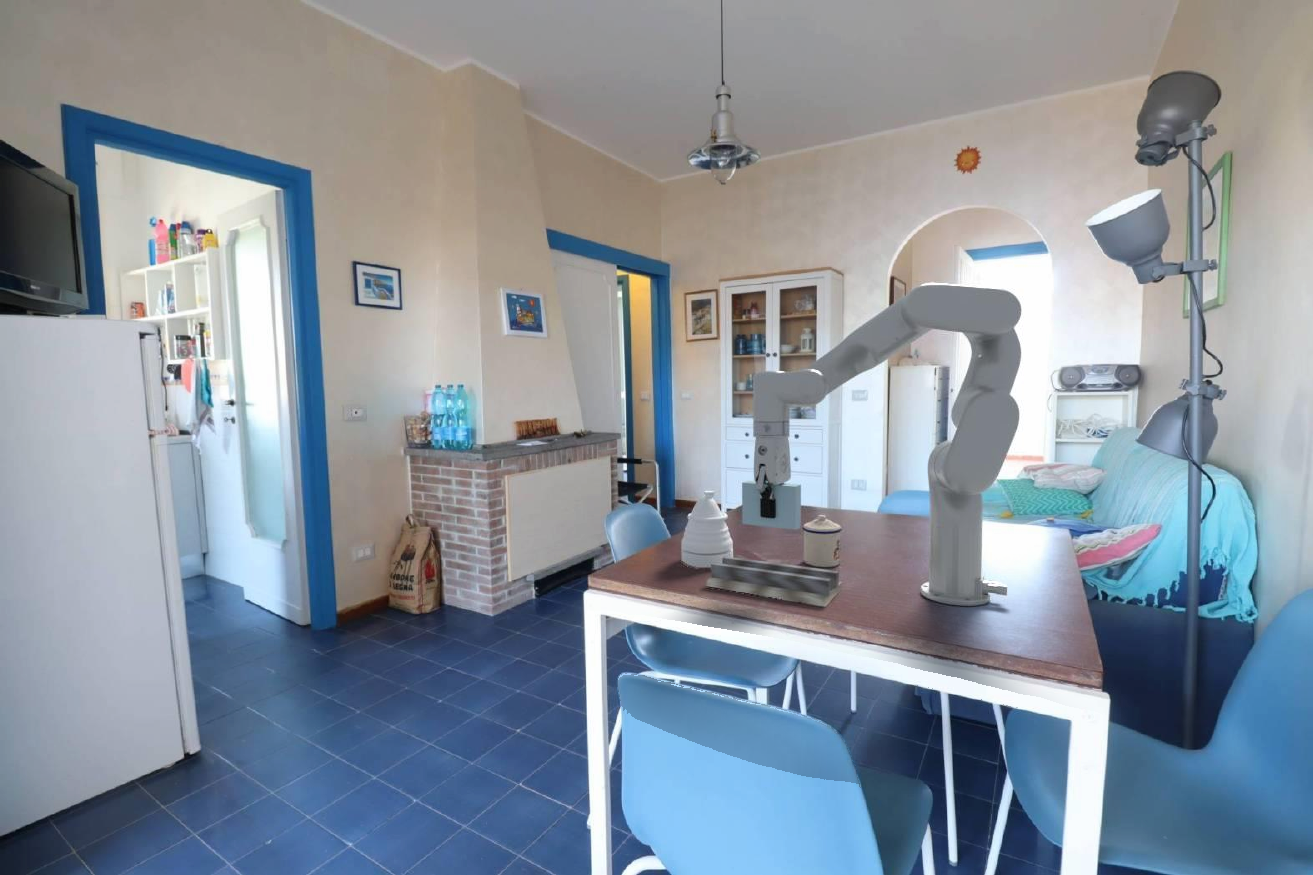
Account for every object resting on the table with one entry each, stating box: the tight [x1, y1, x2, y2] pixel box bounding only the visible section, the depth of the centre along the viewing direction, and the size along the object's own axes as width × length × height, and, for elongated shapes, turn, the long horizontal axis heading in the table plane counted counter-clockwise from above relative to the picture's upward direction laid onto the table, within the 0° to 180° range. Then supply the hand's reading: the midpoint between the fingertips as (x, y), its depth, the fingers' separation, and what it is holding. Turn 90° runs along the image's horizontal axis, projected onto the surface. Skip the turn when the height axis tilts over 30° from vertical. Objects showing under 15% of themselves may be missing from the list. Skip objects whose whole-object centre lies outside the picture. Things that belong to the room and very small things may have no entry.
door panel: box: [741, 480, 802, 531], centre depth 131 cm, size 12×3×9 cm, turn 58°
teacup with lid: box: [802, 514, 842, 568], centre depth 152 cm, size 12×9×12 cm
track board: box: [705, 556, 843, 608], centre depth 132 cm, size 26×12×4 cm, turn 58°
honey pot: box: [680, 490, 734, 567], centre depth 154 cm, size 13×13×18 cm
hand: (771, 515), depth 131 cm, fingers closed on door panel, 3 cm apart
